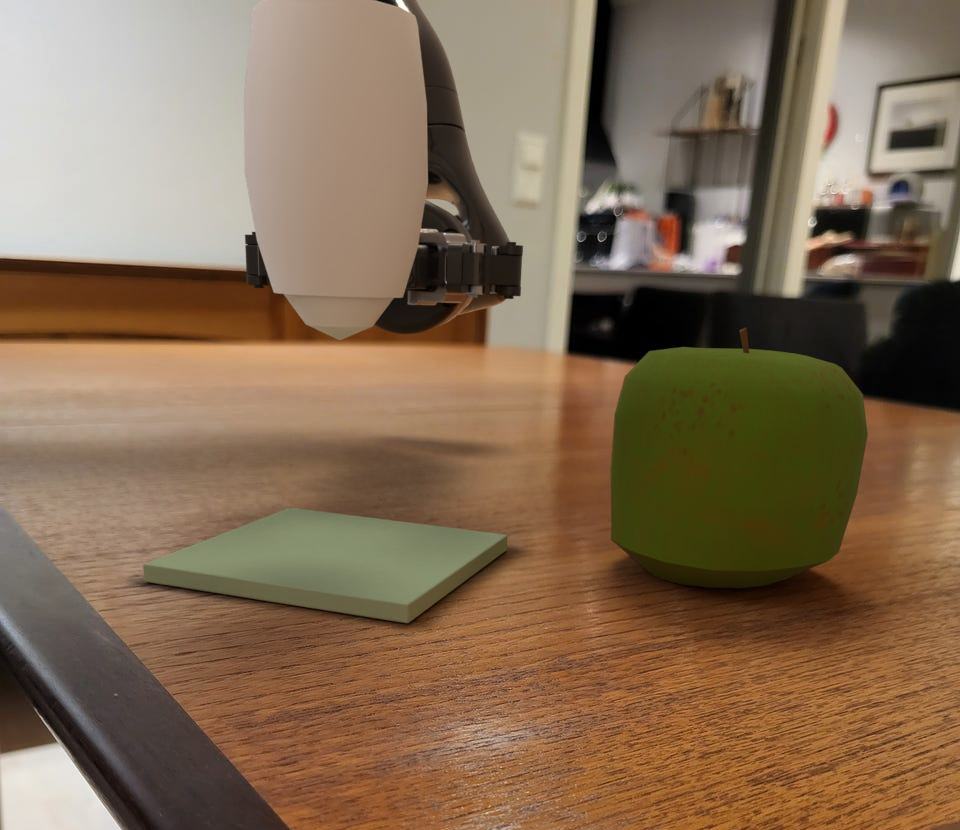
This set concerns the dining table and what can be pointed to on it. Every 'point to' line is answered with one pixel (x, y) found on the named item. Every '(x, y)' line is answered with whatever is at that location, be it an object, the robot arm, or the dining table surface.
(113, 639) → the dining table surface
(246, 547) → the drink mat
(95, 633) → the dining table surface
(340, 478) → the dining table surface
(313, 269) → the white rounded shell
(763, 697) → the dining table surface
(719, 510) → the apple
